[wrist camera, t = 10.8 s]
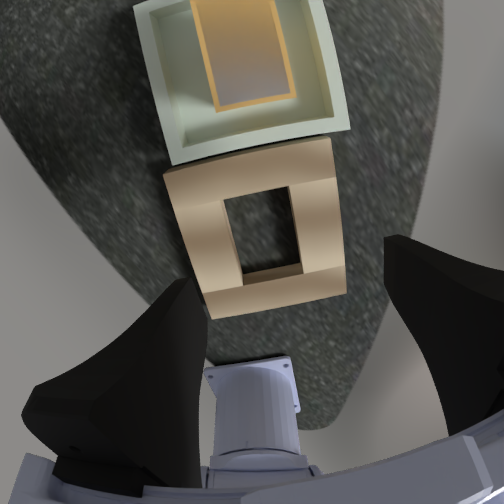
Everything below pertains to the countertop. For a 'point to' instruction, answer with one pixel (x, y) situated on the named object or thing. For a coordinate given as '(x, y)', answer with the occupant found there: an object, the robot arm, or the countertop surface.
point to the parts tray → (245, 118)
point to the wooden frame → (220, 235)
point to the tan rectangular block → (243, 52)
